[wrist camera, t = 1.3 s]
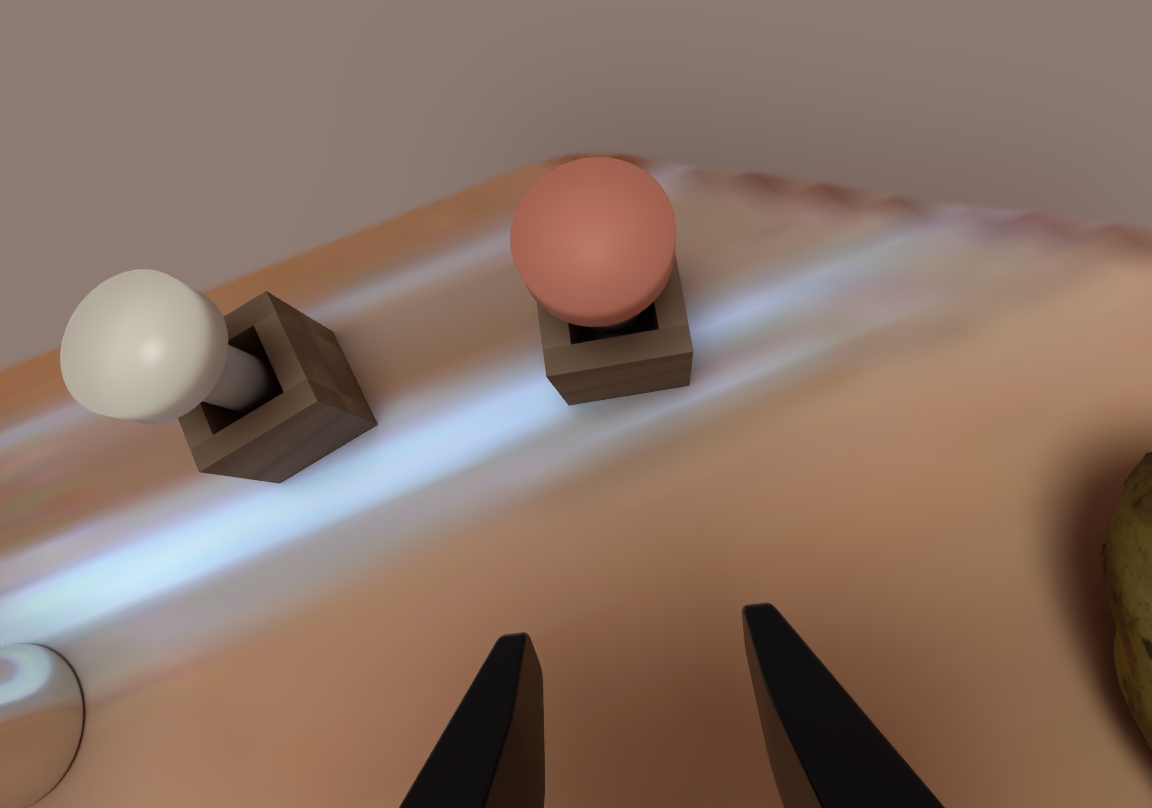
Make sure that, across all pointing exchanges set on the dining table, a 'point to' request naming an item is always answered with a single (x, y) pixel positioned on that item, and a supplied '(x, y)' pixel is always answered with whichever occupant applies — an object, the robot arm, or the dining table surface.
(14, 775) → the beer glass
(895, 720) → the dining table surface
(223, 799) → the dining table surface
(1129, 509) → the potato
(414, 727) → the dining table surface
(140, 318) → the ivory key
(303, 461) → the ivory key housing
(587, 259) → the red rounded knob
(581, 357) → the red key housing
